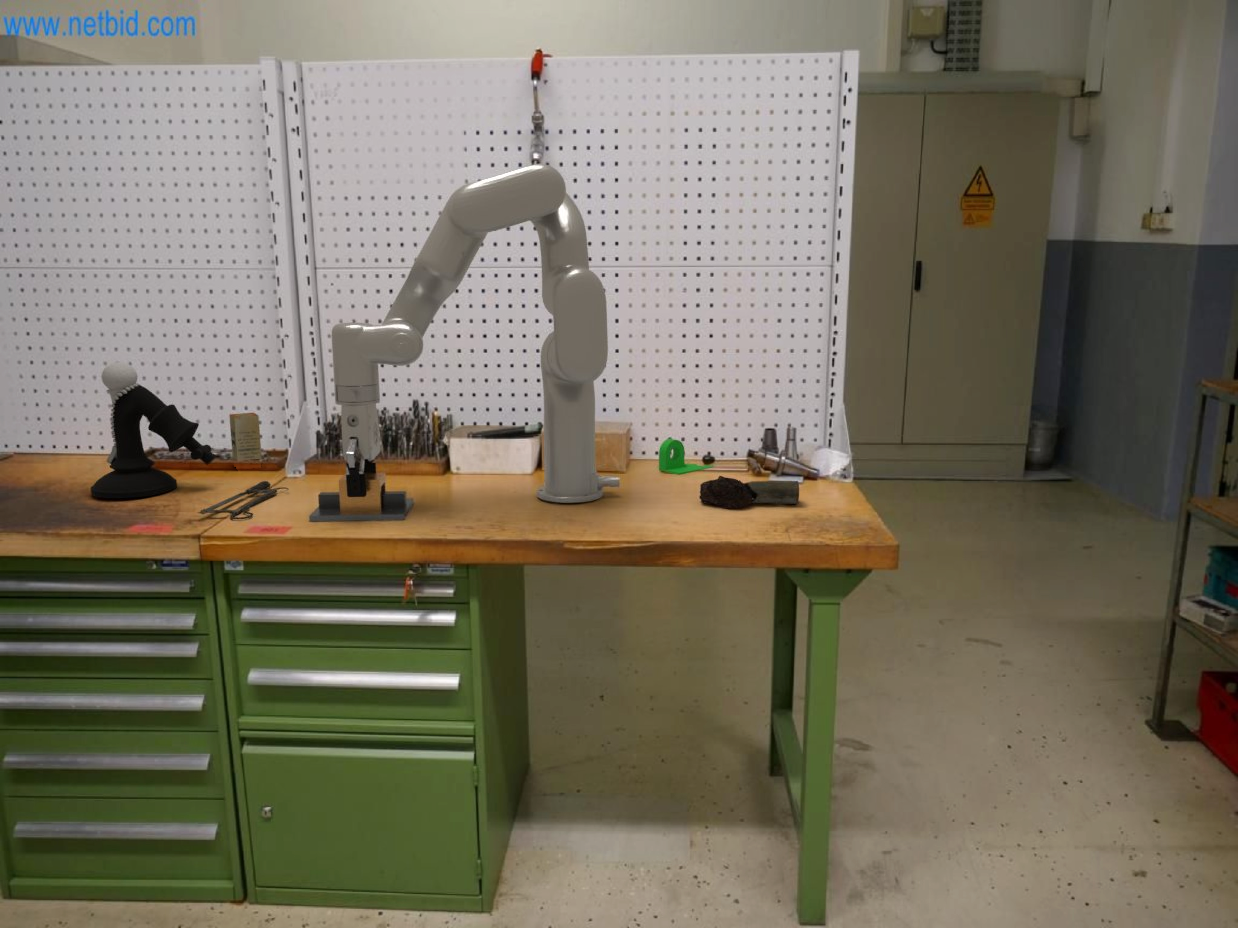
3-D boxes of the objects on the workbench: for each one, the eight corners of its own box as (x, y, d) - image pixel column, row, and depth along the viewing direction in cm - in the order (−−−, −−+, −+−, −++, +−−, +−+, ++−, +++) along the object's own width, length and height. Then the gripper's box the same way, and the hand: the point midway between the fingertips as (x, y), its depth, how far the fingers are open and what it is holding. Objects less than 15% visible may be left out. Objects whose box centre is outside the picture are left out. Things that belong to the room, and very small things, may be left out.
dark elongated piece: (796, 501, 175) (795, 471, 174) (800, 509, 168) (800, 478, 167) (699, 503, 176) (699, 473, 175) (700, 511, 169) (700, 480, 168)
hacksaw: (262, 486, 188) (261, 479, 188) (310, 485, 186) (309, 478, 186) (191, 521, 165) (190, 513, 164) (245, 520, 163) (244, 512, 163)
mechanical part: (678, 482, 195) (679, 444, 193) (658, 477, 199) (659, 440, 198) (719, 474, 203) (719, 437, 201) (698, 470, 207) (699, 434, 205)
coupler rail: (413, 503, 176) (412, 484, 175) (403, 519, 164) (403, 500, 163) (325, 504, 175) (324, 486, 174) (309, 521, 163) (308, 501, 162)
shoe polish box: (257, 466, 209) (253, 412, 206) (262, 470, 205) (258, 415, 202) (233, 469, 206) (229, 414, 204) (238, 473, 202) (233, 417, 200)
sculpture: (114, 481, 194) (101, 358, 189) (232, 480, 195) (222, 358, 190) (75, 498, 179) (60, 366, 174) (202, 498, 180) (191, 366, 175)
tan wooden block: (386, 502, 172) (385, 472, 171) (380, 510, 166) (379, 479, 165) (347, 502, 172) (345, 473, 171) (340, 511, 166) (338, 480, 165)
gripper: (370, 401, 157) (375, 501, 160) (387, 388, 174) (391, 479, 177) (323, 401, 156) (329, 502, 160) (345, 388, 173) (350, 480, 177)
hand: (362, 490), depth 169 cm, fingers open, 9 cm apart
